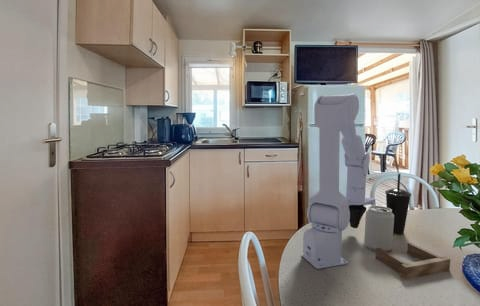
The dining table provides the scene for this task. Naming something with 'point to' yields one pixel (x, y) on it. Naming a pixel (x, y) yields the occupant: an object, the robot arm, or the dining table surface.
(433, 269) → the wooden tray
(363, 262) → the dining table surface
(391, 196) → the drinking cup
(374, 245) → the can
